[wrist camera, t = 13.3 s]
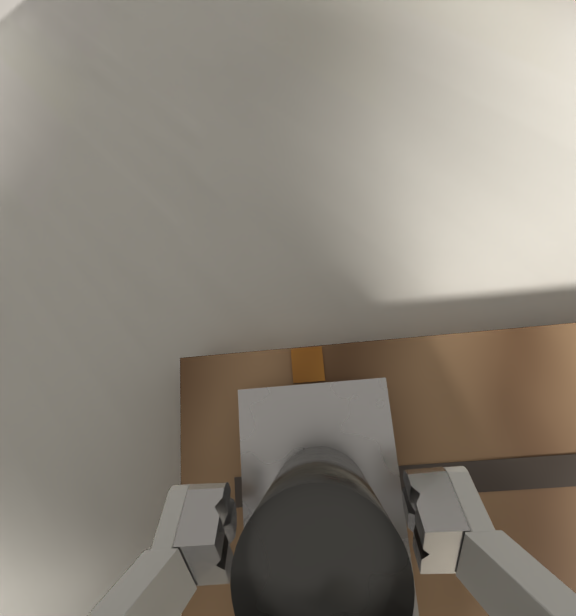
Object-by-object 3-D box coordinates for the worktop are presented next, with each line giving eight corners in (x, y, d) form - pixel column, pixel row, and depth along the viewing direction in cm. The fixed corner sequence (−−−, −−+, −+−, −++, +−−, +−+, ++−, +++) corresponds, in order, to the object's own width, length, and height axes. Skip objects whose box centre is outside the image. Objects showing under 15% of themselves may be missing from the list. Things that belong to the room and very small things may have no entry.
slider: (380, 379, 14) (438, 355, 7) (410, 603, 12) (529, 867, 5) (244, 391, 14) (171, 378, 7) (254, 610, 12) (171, 867, 5)
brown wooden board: (827, 307, 15) (904, 293, 13) (956, 594, 13) (1075, 629, 11) (196, 363, 17) (179, 357, 15) (200, 626, 14) (180, 662, 12)
